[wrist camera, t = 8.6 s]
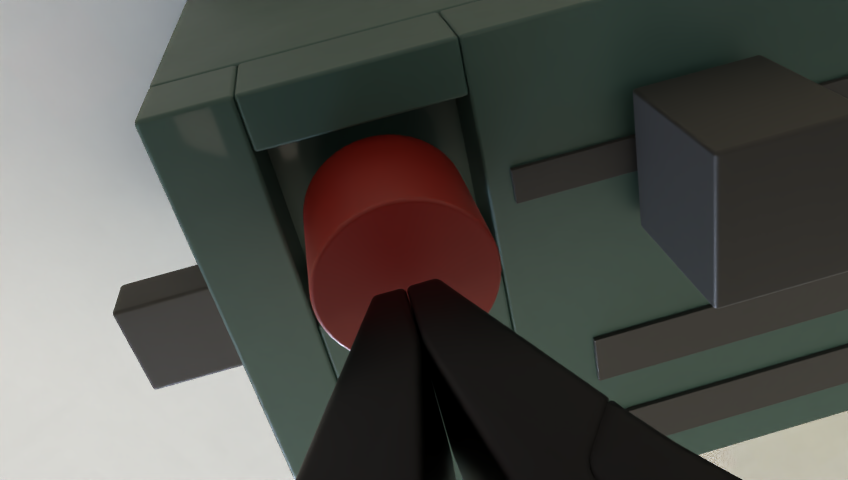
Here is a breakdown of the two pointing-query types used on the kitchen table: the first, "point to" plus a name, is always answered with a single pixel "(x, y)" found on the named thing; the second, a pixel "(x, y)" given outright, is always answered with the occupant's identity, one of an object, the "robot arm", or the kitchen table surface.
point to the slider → (744, 177)
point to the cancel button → (392, 230)
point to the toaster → (475, 196)
